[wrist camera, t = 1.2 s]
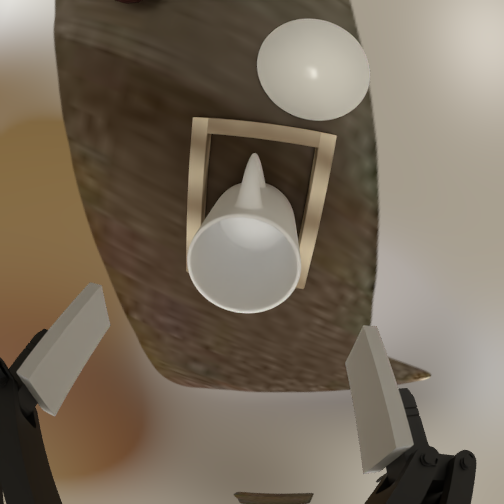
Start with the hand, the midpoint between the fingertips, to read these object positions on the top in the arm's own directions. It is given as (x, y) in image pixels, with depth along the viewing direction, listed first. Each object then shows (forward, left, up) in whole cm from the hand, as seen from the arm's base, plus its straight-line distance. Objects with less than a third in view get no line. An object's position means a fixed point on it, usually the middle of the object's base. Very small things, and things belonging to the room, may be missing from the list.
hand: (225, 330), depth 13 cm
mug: (0, 0, -19) cm, 19 cm away
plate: (-15, +4, -19) cm, 25 cm away
